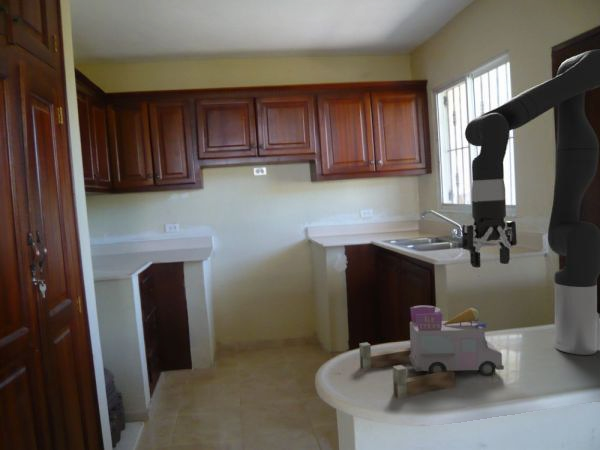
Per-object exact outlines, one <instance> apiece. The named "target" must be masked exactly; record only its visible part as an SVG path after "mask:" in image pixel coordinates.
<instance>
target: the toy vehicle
mask: <svg viewBox="0 0 600 450" xmlns="http://www.w3.org/2000/svg"><path fill="white" fill-rule="evenodd" d="M413 307H414V306H411V307H409V309H410V318H411V317H412V322H411V321H409V337H410V339H409V343H410V344H409V345H410V347H409V348H411V355H409V359H410V361H411V362H410V363H411V364H412V366H413V368H414V371H415V372H425V375H428V374H433V373H438V372H444V371H449V370H451V371H452V372H454V371H478V372H479V374H480V375H481V376H483V377H486V378H489V377H492V376H493V375H494V374H495V372H496V370H499V371H500V370H501V371H502V370H504V369H505V367H504V365H503V354H502V352H501V351H499V350H498V349H497V347H495V346H494V345H493V344H492V343H490V342H489V341H488V340H487V339H486V334H485V333H486V332H485V331H486V330H485V329H486V328H487V323H486V322H485V321H484V322H482V323H477V322H478V321H479V316H480V314H479V311H478V310H477V309H475V308H473V307H469V308H467V309H465V310H463V311H462V312H461V313H459V314H457V315H455V316H453V317H452V318H451V319H448V320H443V313H441V314H435V307H436V306H434V307H415V308H413Z"/></svg>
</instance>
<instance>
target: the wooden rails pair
mask: <svg viewBox="0 0 600 450" xmlns="http://www.w3.org/2000/svg"><path fill="white" fill-rule="evenodd" d="M371 350H372V347H371V344H370V343H368V342H367V341H366V342H361V343H359V367H360V369H362V370H363V371H367V370H372V369H377V368H382V367H389V366H392V383H393V396H395V397H396V398H398V399H401V398H407V397H409V396H413V395H418V394H425V393H429V392H434V391H437V390H438V391H439V390H443V389H448V388H452V387H453V388H454V387H456V377H455V376H456V373H455V371H451V370H449V371H447V370H445V371H444V372H438V373H433V374H430V373H429V374H428V375H427V374H424V375H418V376H413V377H408V378H407V368H406V366H403V365H402V364H405V363H411V361H410V359H409V355H411V348H410V347H406V348H400V349H393V350H387V351H383V352H376V353H375V352H374V353H371V352H372V351H371ZM400 364H401V365H400ZM393 365H394V366H393Z"/></svg>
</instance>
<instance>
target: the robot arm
mask: <svg viewBox="0 0 600 450" xmlns="http://www.w3.org/2000/svg"><path fill="white" fill-rule="evenodd" d="M599 87H600V49H592V50H591V49H590V50H587V51H585V52H583V53H582V52H581V53H579V54H577V55H574V56H572V57H570V58H567V59H565V61H563V62H561V64H560V66H559V67H558V69H557V73H556V76H555V77H553V78H551V79H548V80H546V81H544V82H543V83H540V84H538V85H535V86H532V87H531V88H528V89H527V90H525V91H522V92H521V93H519V94H518V95H515V96H514V97H512V98H510V99H509V100H507V101H506V102H504V103H503V104H501V105H500V106H497V107H495V108H493V109H490V111H487V112H485V113H482V114H480V115H478V116H476V117H475V118H473V119H471V121H469V122H468V124H467V125H466V127H465V131H464V136H465V139H466V141H467V143H469V144H470V145H471V146H474V147H480V149H479V150H480V151H479V154H478V155H477V156H475V157H474V158H473V160H472V162H471V174H472V175H471V179H472V182H471V183H472V184H471V211H472V212H471V213H472V214H471V216H472V218H473V220H474V221H473V224H463V225H462V228H461V230H462V234H461V236H462V237H461V241H462V243H461V244H462V245H461V246H462V249H463V250H466V251H469V254H470V257H469V258H470V260H469V261H470V265H471V266H472V268H480V267H481V265H482V264H481V252H480V250H481V249H482V246H483V245H485V244H486V242H490V241H494V242H496V243H497V245H498V246H499V247H500V248H499V263H500V264H503V265H507V264H509V262H510V259H511V258H510V249H511V247H513V246H517V244H518V242H517V227H516V221H515V220H504V219H505V218H506V217H507V204H506V202H507V201H506V185H505V176H504V175H505V172H504V171H505V170H504V160H505V157H506V152H507V149H508V144H509V139H510V131H513V130H516V129H519V128H521V127H523V126H525V125H526V124H528V123H530V122H531V121H533V120H535V119H537V118H538V117H540V116H542V115H543V114H544V113H547V112H548V111H550V110H551V109H554V108H555V107H557V138H556V139H557V140H556V152H555V168H554V170H555V174H554V187H553V197H552V199H553V200H552V207H551V213H550V219H549V224H548V231H547V243H548V246H549V247H550V249H551V250H552V252H554V253H555V254H556V255H560V256H563V257H564V256H565V266H564V267H563V268H562V269H558V270H557V271H555V273H554V347H555V348H556V349H557V350H559V351H561V352H564V353H567V354H573V355H581V356H582V355H583V356H585V355H586V356H588V355H594V354H596V353H597V352H598V351H599V350H600V313H598V291H597V290H598V278H599V276H600V229H599V228H598V226H596V225H595V224H594V223H592V222H588V221H580V210H581V203H582V201H583V197H584V196H585V193H586V192H587V190H588V188H589V187H590V185H591V184H592V181H594V178H595V176H596V173H597V171H598V164H599V154H600V151H599V150H600V148H599V147H600V145H599V143H600V142H599V140H598V137H597V134H596V132H595V131H594V129H593V127H592V126H591V124H590V123H589V120H588V118H587V115H586V112H585V97H586V92H588V91H591V90H595V89H597V88H599Z"/></svg>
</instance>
